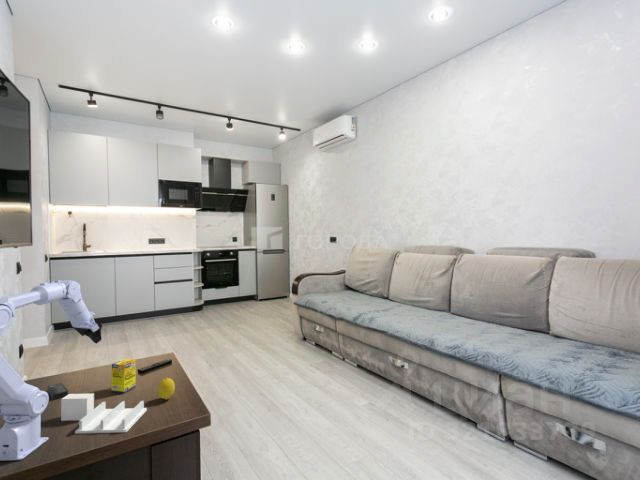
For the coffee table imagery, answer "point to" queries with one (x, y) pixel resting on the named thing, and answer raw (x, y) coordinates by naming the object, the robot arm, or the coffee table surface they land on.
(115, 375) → the supplement box
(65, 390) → the multiport hub
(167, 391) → the lemon
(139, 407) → the dish rack
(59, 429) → the coffee table surface
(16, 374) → the robot arm
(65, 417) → the cream rectangular prism
